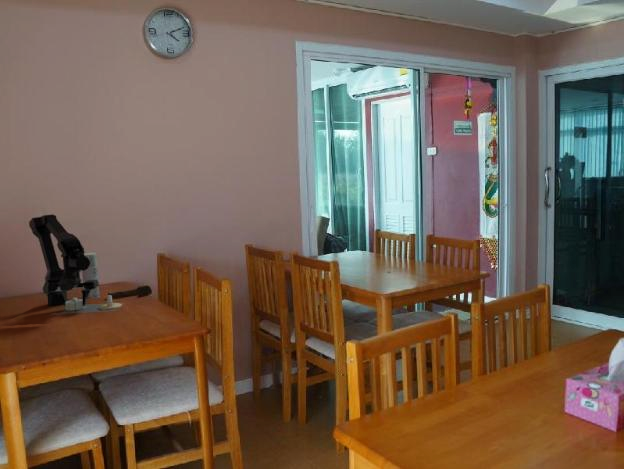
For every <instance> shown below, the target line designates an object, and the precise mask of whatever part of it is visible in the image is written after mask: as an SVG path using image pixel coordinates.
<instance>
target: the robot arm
mask: <svg viewBox="0 0 624 469" xmlns="http://www.w3.org/2000/svg"><path fill="white" fill-rule="evenodd" d="M28 226H29V229H31V233H32V234H33V235H34V236H35V237H36V238H37V239H38V241H39V246H40V249H41V253H42V256H43V261H44V263H45V267H46V268H45V269H46V273H45V277H44V280H45V281H44V284H43V287H42V292H43V294H44V295H47V296H46V297H47V303H48V304H47V305H48V306H51V307H57V306H64V307H65V308H66V306H65V302H66V301H68V293H67V292H68V291H72V290H73V289H74V288H75V289H76V288H83V289H82V290H81V291H80V292H81V294H82V298H81V299H83V306H85V305H87V304H86V303H87V300H88V299H89V298H88V295H89V293H90V290H92V289H95V288H97V287H98V286H99V287H100V285H99V284H100V282H99V280H98V281H97V280H88V281H86V282H84V283H83V279H81V273H82V271H84V270H86V269H88V268H89V266H90V261H89V259H88V258H87V257H86V256H84V254H85V253H86V252H85V248H84V246H83V244H82V243H81V241H80V239H79V238H78V237H77V236H76V235H74V234H73V233H70V232H68V231H67V230H66V229H65V227H64V226H63V225H62V223H60V221H59V220H58V218H57V215H55V214H44V215H41V216H34V217H32V218H31V220H29V221H28ZM51 234H52V235H51ZM52 236H53V237H54V238H55V240H56V241H57V244H56V246H57V248H58V251H60V253H61V254H60V258H62V264H63V269H62V268H61V267H60V265H59V261H58V257H57V254H56V250H55V246H54V243H53V239H52Z"/></svg>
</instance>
